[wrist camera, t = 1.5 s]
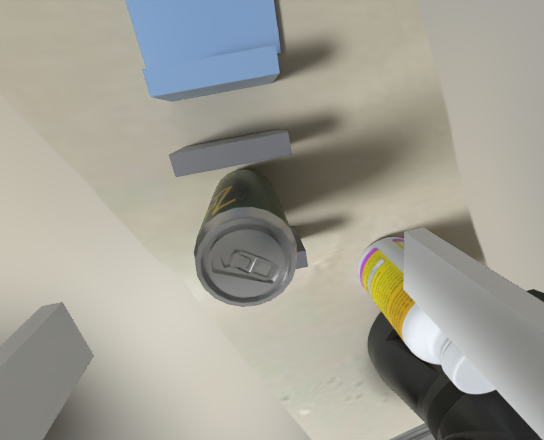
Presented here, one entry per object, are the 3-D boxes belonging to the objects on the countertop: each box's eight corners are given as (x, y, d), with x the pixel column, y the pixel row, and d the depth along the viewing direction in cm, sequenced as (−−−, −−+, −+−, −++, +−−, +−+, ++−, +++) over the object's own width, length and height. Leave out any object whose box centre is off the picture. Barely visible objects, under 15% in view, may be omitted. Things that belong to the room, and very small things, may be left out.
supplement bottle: (362, 297, 30) (443, 418, 18) (348, 248, 27) (431, 349, 15) (420, 276, 30) (541, 385, 18) (411, 224, 27) (544, 309, 15)
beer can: (284, 182, 24) (320, 237, 13) (260, 233, 26) (273, 321, 15) (228, 157, 23) (214, 195, 12) (206, 212, 24) (175, 292, 13)
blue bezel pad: (280, 53, 21) (281, 52, 20) (150, 77, 20) (148, 76, 20) (264, -62, 18) (264, -66, 18) (115, -37, 18) (112, -40, 17)
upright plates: (296, 240, 26) (307, 266, 22) (215, 256, 26) (209, 286, 21) (243, -97, 17) (244, -175, 13) (120, -76, 17) (74, -149, 12)
